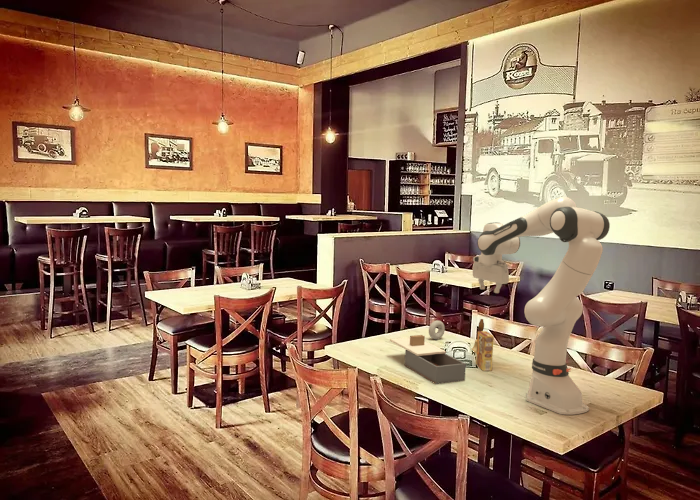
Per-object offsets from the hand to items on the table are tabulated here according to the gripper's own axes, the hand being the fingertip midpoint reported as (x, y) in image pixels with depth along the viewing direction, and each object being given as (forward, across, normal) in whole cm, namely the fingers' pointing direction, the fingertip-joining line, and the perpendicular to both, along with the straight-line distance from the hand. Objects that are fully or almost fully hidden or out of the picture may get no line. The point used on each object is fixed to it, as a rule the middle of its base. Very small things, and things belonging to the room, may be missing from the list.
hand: (489, 291), depth 236 cm
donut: (+33, +43, -3) cm, 54 cm away
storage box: (+33, -2, +28) cm, 44 cm away
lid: (+26, +12, +28) cm, 40 cm away
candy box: (+33, -3, +3) cm, 34 cm away
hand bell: (+33, +18, -11) cm, 39 cm away
